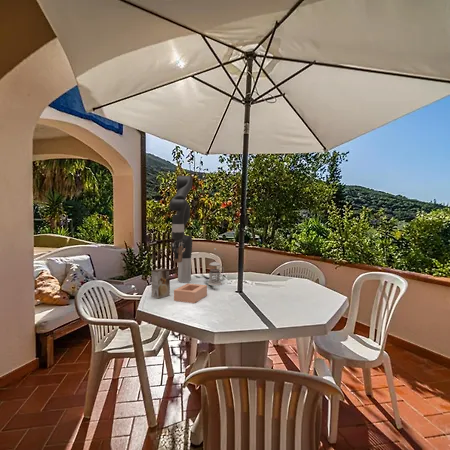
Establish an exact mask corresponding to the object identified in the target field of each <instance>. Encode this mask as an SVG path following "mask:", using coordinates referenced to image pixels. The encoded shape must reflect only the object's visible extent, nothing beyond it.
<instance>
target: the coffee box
mask: <svg viewBox="0 0 450 450" xmlns="http://www.w3.org/2000/svg"><path fill="white" fill-rule="evenodd" d="M170 272H171V270H170V269H169V268H164V267H163V268H157V269H152V270H151V272H150V273H151V298H154V299H163V298H166V297H169V296H170V294H171V293H170V292H171V289H170V287H171V285H170V284H171V283H170V282H171V280H170V279H171V278H170V277H171V276H170V275H171V273H170Z"/></svg>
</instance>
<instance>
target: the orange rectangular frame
mask: <svg viewBox="0 0 450 450" xmlns="http://www.w3.org/2000/svg"><path fill="white" fill-rule="evenodd" d="M207 295H208V284H207V285H206V284H197V283H191V282H187V283H185V284H183V285H182V286H180V287H178V288H175V289H174V290H173V301H174V302H175V301H176V302H181V303H182V302H183V303H189V304H190V303H191V304H195V303H197V302H199V301H200V300H202V299H203V298H205V297H206V296H207Z"/></svg>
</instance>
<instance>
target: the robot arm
mask: <svg viewBox="0 0 450 450" xmlns="http://www.w3.org/2000/svg"><path fill="white" fill-rule="evenodd" d="M175 183H176V184H175V185H176V192H175V193H176V194H175V195H174V197H173V198H171V200H170V201H169V208H170V209H171V211H176V214H173V215H172V225H171V239H173V243H171V244H170V245H171V246H170V247H171V250H172V251H171V252H172V253H173V254H174V253H175V259H178V249H179V247H180V246H182V262H180V263H178V262H177V265H178V266H177V281H179V282H178V283H182V282H187V283H191V282H192V253H193V237H192V235H185V227H186V225H187V223H188V222H189V219H190V217H191V209H190V204H189V203H188V202H187V195H188V194H189V192H190V191H191V189H192V187H193V177H192V176H190V175H177V177H176V181H175ZM176 247H178V248H176ZM190 281H191V282H190Z"/></svg>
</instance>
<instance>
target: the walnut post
mask: <svg viewBox="0 0 450 450" xmlns="http://www.w3.org/2000/svg"><path fill="white" fill-rule="evenodd" d="M176 248H178V247H176ZM182 252H183V250H182V246H180V247H179V249H178V259H175V253H174V252H173V263H177V264H178V263H180V262H182Z"/></svg>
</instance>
